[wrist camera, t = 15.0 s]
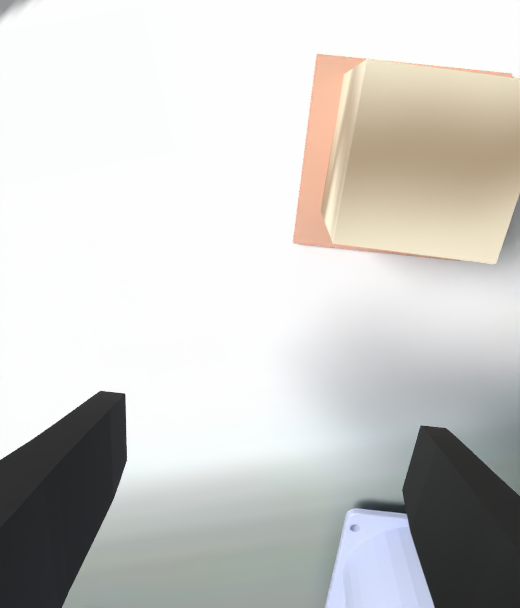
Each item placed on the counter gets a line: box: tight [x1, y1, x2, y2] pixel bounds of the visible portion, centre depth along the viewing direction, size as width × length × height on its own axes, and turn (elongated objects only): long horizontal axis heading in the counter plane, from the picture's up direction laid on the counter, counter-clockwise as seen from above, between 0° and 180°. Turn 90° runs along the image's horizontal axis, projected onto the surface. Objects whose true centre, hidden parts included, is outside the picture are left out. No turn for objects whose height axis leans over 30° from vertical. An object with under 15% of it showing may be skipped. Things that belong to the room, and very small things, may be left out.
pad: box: [293, 54, 512, 261], centre depth 18 cm, size 7×7×1 cm
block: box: [321, 59, 520, 265], centre depth 15 cm, size 5×5×5 cm
